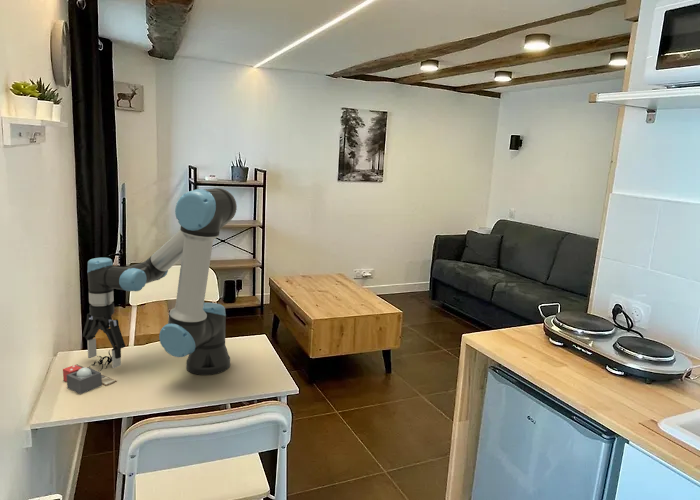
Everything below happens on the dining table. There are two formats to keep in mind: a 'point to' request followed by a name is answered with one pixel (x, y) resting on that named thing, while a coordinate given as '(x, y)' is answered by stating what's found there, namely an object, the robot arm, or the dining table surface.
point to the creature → (102, 361)
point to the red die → (69, 371)
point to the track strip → (104, 379)
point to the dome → (84, 372)
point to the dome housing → (84, 382)
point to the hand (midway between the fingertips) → (104, 361)
